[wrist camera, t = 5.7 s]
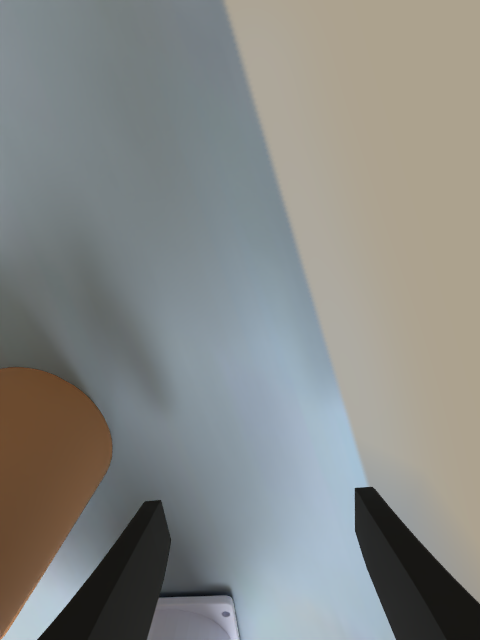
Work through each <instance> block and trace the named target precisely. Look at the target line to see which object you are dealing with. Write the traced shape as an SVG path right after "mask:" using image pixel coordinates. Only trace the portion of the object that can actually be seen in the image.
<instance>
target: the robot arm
mask: <svg viewBox="0 0 480 640" xmlns="http://www.w3.org/2000/svg"><path fill="white" fill-rule="evenodd" d="M355 532H356V535H357V538H358V542H359V545H360V548H361V551H362V554H363V558H364V561H365V564H366V567H367V570H368V572H369V575H370V577H371V579H372V582H373V584H374V587H375V589H376V592H377V594H378V597H379V599H380V602H381V604H382V606H383V609H384V611H385V614H386V616H387V619H388V621H389V624H390V626H391V628H392V631H393V633H394V636H395V638H396V640H480V604H479V603H478V602H477V601H476V600H475V599H474V598H473V597H472V596H471V595H470V594H469V593H468V592H467V591H466V590H465V589H464V588H463V587H462V586H461V585H460V584H459V583H458V582H457V581H456V580H455V579H454V578H453V577H452V576H451V574H450V573H449V572H448V571H447V570H446V569H445V568H444V567H443V566H442V565H441V564H440V563H439V562H438V561H437V560H436V559H435V558H434V557H433V556H432V554H431V553H430V552H429V551H428V550H427V549H426V548H425V547H424V546H423V545H422V544H421V542H420V541H418V539H417V538H416V537H415V536H414V535H413V533H412V532H411V531H410V530H409V529H408V528H407V527H406V526H405V524H404V523H403V522H402V521H401V520H400V519H399V518H398V516H397V515H396V514H395V513H394V512H393V510H392V509H391V508H390V507H389V506H388V504H387V503H386V502H385V501H384V500H383V498H382V497H381V496H380V495H379V493H378V492H377V491H376V490H375V489H374V488H373V487H363V488H355ZM170 544H171V538H170V534H169V530H168V526H167V522H166V518H165V514H164V510H163V506H162V502H161V500H157V501H145V502H144V503H143V505H142V506H141V508H140V509H139V510H138V512H137V513H136V515H135V516H134V517H133V519H132V520H131V522H130V523H129V524H128V526H127V527H126V529H125V530H124V531H123V533H122V534H121V536H120V537H119V538H118V540H117V541H116V542H115V544H114V545H113V546H112V548H111V549H110V550H109V552H108V553H107V554H106V556H105V557H104V558H103V560H102V561H101V562H100V564H99V565H98V566H97V568H96V569H95V570H94V572H93V573H92V574H91V576H90V577H89V578H88V579H87V581H86V582H85V583H84V584H83V586H82V587H81V588H80V589H79V591H78V592H77V593H76V594H75V596H74V597H73V598H72V599H71V601H70V602H69V603H68V604H67V606H66V607H65V608H64V609H63V610H62V612H61V613H60V614H59V615H58V616H57V618H56V619H55V620H54V621H53V622H52V623H51V625H50V626H49V627H48V628H47V629H46V630H45V631H44V633H43V634H42V635H41V636H40V637H39V638H38V639H37V640H240V639H239V633H238V627H237V621H236V615H235V609H234V603H233V600H232V598H231V597H229V596H225V595H222V596H192V597H162V598H159V595H160V591H161V587H162V584H163V580H164V576H165V571H166V566H167V561H168V555H169V549H170Z"/></svg>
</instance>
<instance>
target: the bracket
mask: <svg viewBox="0 0 480 640" xmlns="http://www.w3.org/2000/svg"><path fill="white" fill-rule="evenodd" d="M111 458H112V438H111V434H110V431H109V428H108V425H107V423H106V421H105V419H104V417H103V415H102V414H101V412H100V411H99V409H98V408H97V407H96V405H95V404H94V403H93V402H92V401H91V400H90V399H89V398H88V396H86V395H85V394H84V393H83V392H82V391H81V390H79V389H78V388H77V387H75V386H74V385H72V384H70V383H69V382H67V381H65V380H63V379H61V378H59V377H58V376H56V375H53V374H50V373H48V372H45V371H41V370H37V369H32V368H23V367H10V368H2V369H0V640H1V639H2V638H3V637H4V636H5V634H6V633H7V631H8V630H9V628H10V627H11V625H12V624H13V622H14V620H15V619H16V617H17V616H18V614H19V612H20V611H21V609H22V608H23V606H24V605H25V603H26V601H27V600H28V598H29V597H30V595H31V593H32V592H33V590H34V589H35V587H36V586H37V584H38V582H39V581H40V579H41V578H42V576H43V574H44V573H45V571H46V570H47V568H48V566H49V565H50V563H51V561H52V560H53V558H54V557H55V555H56V553H57V552H58V550H59V549H60V547H61V545H62V544H63V542H64V540H65V539H66V537H67V536H68V534H69V532H70V531H71V529H72V527H73V526H74V524H75V523H76V521H77V519H78V518H79V516H80V515H81V513H82V511H83V510H84V508H85V506H86V505H87V503H88V502H89V500H90V498H91V497H92V495H93V493H94V492H95V490H96V489H97V487H98V485H99V484H100V482H101V480H102V479H103V477H104V476H105V474H106V472H107V470H108V468H109V466H110V462H111Z"/></svg>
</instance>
